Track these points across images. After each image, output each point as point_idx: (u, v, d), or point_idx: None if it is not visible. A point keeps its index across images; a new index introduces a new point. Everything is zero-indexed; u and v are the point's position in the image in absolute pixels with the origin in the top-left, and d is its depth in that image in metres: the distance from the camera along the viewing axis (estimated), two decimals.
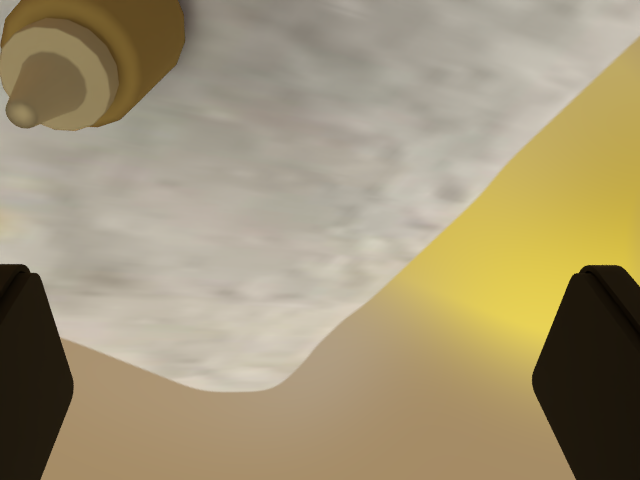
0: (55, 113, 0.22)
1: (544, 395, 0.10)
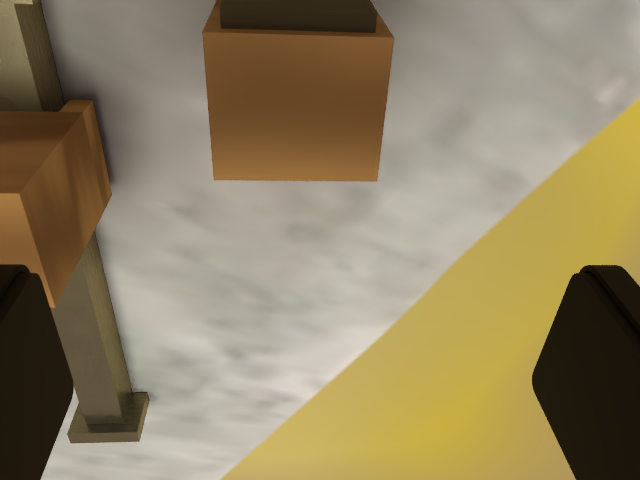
0: None
1: (544, 395, 0.10)
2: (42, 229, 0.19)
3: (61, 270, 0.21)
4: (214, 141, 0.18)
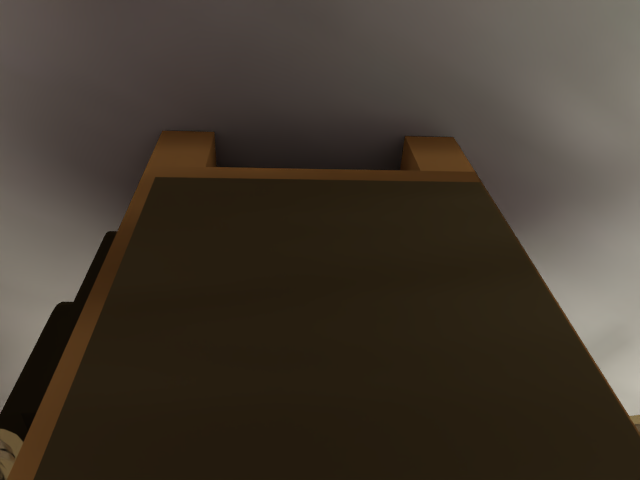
0: None
1: None
2: None
3: None
4: None
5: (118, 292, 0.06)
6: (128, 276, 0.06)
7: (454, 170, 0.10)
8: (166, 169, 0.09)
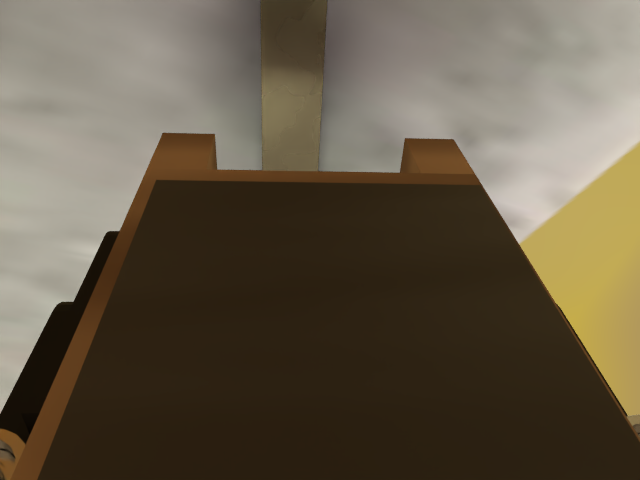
0: None
1: None
2: None
3: None
4: None
5: (119, 296, 0.06)
6: (129, 279, 0.06)
7: (454, 172, 0.10)
8: (167, 171, 0.09)
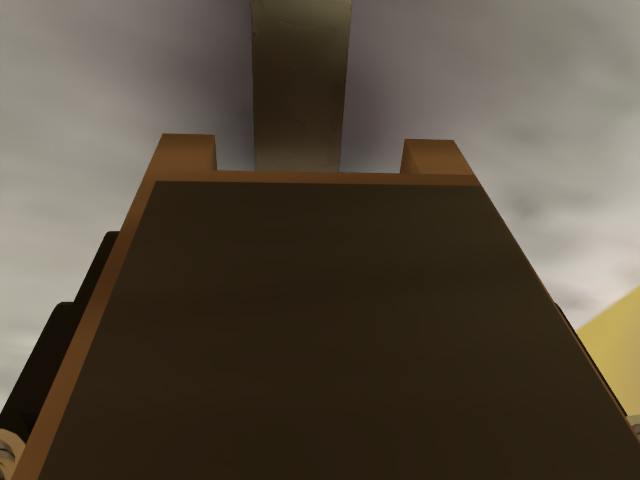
0: None
1: None
2: None
3: None
4: None
5: (119, 297, 0.06)
6: (128, 280, 0.06)
7: (454, 173, 0.10)
8: (166, 172, 0.09)
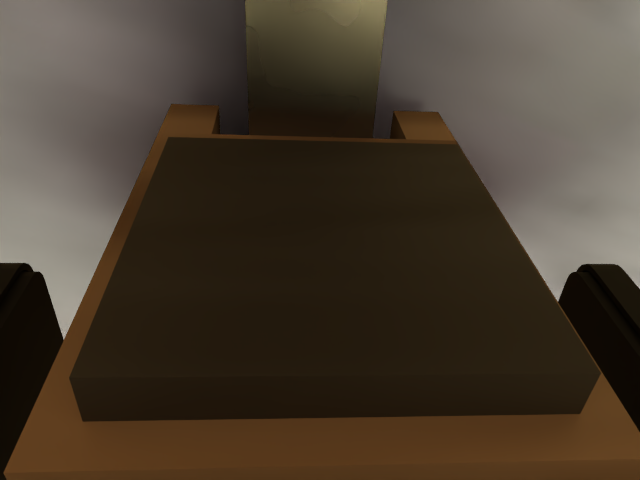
0: None
1: None
2: None
3: None
4: None
5: (141, 223, 0.07)
6: (148, 211, 0.07)
7: (437, 139, 0.11)
8: (176, 135, 0.10)
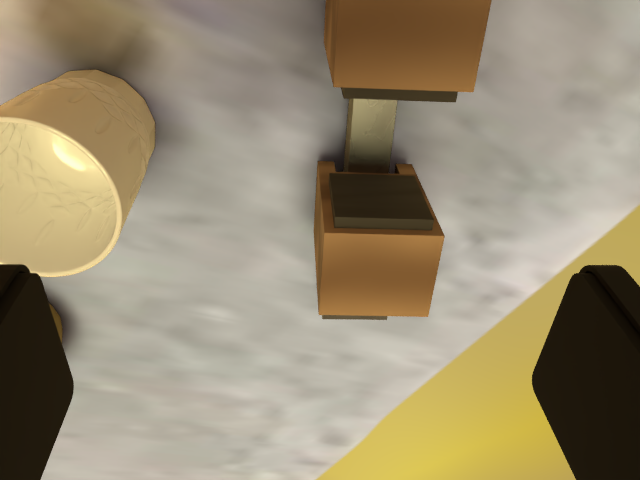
0: None
1: (544, 395, 0.10)
2: None
3: None
4: (322, 292, 0.27)
5: (333, 194, 0.28)
6: (334, 191, 0.28)
7: (410, 174, 0.32)
8: (324, 172, 0.31)
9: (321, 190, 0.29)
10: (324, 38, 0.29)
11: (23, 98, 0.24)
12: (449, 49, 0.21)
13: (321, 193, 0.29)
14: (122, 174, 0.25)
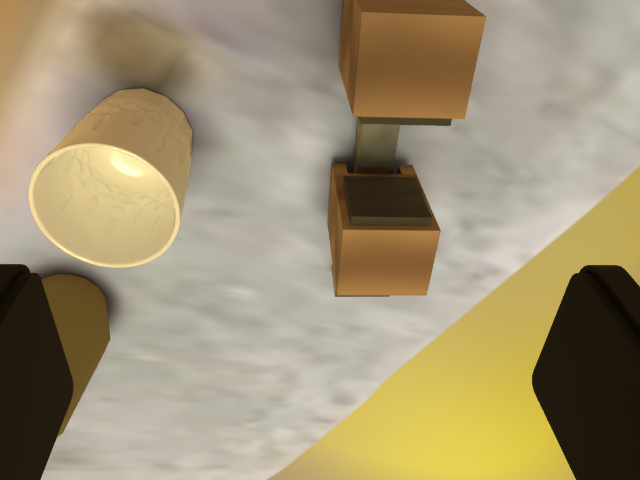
0: None
1: (544, 395, 0.10)
2: None
3: None
4: (340, 277, 0.33)
5: (348, 195, 0.34)
6: (348, 193, 0.34)
7: (410, 174, 0.38)
8: (338, 174, 0.37)
9: (337, 191, 0.35)
10: (339, 62, 0.34)
11: (96, 122, 0.30)
12: (445, 87, 0.27)
13: (337, 193, 0.35)
14: (178, 184, 0.30)
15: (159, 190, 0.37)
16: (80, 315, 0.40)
